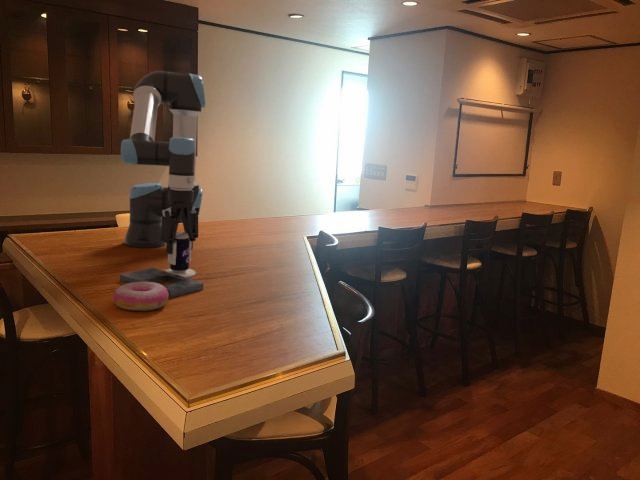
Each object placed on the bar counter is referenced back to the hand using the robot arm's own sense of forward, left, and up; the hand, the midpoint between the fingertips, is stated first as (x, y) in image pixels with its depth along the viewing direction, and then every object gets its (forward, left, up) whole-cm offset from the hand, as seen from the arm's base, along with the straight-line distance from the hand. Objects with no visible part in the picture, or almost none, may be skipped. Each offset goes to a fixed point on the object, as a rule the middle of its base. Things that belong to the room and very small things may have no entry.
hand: (179, 262), depth 165 cm
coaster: (0, 0, -4) cm, 4 cm away
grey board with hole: (+6, -12, -4) cm, 14 cm away
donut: (+16, -26, -4) cm, 31 cm away
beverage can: (0, 0, -3) cm, 3 cm away
